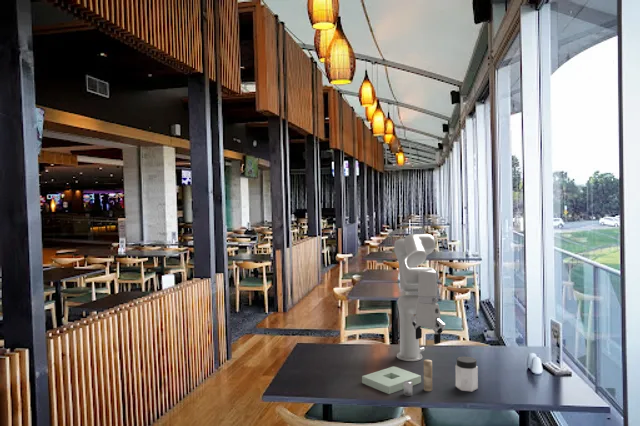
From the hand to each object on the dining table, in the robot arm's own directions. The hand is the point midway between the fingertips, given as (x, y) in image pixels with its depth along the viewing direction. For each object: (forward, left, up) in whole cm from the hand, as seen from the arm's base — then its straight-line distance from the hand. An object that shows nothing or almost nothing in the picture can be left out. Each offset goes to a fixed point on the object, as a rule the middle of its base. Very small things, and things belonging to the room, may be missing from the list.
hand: (427, 340), depth 200 cm
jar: (-14, +9, -21) cm, 27 cm away
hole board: (+6, -15, -21) cm, 26 cm away
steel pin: (+10, -2, -21) cm, 23 cm away
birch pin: (0, 0, -21) cm, 21 cm away
